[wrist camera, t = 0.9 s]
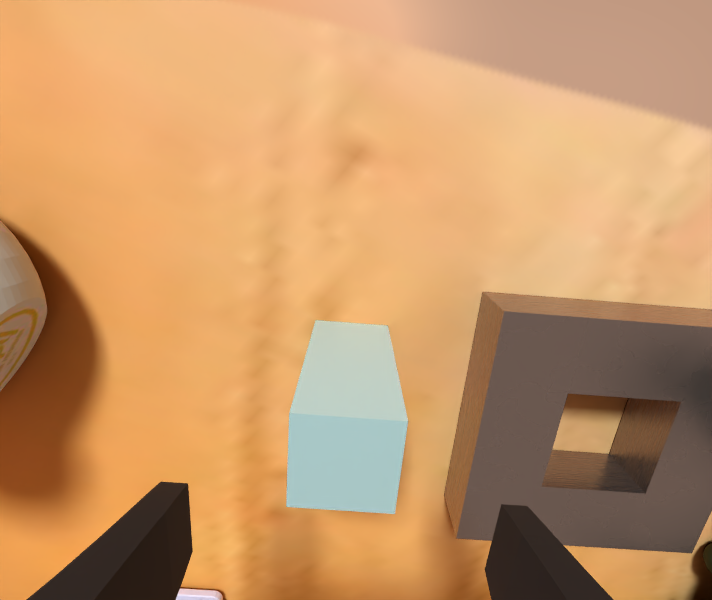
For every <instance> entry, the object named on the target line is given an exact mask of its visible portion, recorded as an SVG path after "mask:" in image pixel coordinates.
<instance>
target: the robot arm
mask: <svg viewBox="0 0 712 600" xmlns="http://www.w3.org/2000/svg"><path fill="white" fill-rule="evenodd" d="M191 554H192V537H191V521H190V506H189V491H188V484H187V483H172V482H160V483H159V484H158V485H157V486H155V487H154V488H153V489H152V490H151V491H150V492H149V493H148V494H146V495H145V496H144V497H143V498H142V499H141V500H140V501H139V502H138V503H137V504H136V505H134V506H133V507H132V508H131V509H130V510H129V511H128V512H127V513H126V514H125V515H124V516H122V517H121V518H120V519H119V520H118V521H117V522H116V523H115V524H114V525H113V526H111V527H110V528H109V529H108V530H107V531H106V532H105V533H104V534H103V535H102V536H100V537H99V538H98V539H97V540H96V541H95V542H94V543H92V544H91V545H90V546H89V547H88V548H87V549H86V550H84V551H83V552H82V553H81V554H80V555H79V556H78V557H76V558H75V559H74V560H73V561H72V562H71V563H70V564H69V565H67V566H66V567H65V568H64V569H63V570H62V571H60V572H59V573H58V574H57V575H56V576H55V577H53V578H52V579H51V580H50V581H49V582H47V583H46V584H45V585H44V586H43V587H41V588H40V589H39V590H38V591H37V592H35V593H34V594H33V595H32V596H30V597H29V598H28V599H27V600H223V596H222V594H221V593H220V592H218V591H215V590H200V589H183V588H180V586H181V584H182V581H183V578H184V575H185V572H186V569H187V566H188V563H189V560H190V557H191ZM485 572H486V577H487V581H488V586H489V590H490V595H491V599H492V600H613V599H612V598H611V597H610V596H609V595H608V593H607V592H606V591H605V590H604V589H603V588H602V587H601V586H600V585H599V584H598V583H597V582H596V581H595V580H594V578H593V577H592V576H591V575H590V574H589V573H588V572H587V571H586V570H585V569H584V568H583V567H582V565H581V564H580V563H579V562H578V561H577V560H576V559H575V558H574V557H573V556H572V554H571V553H570V552H569V551H568V550H567V549H566V548H565V547H564V546H563V545H562V543H561V542H560V541H559V540H558V539H557V538H556V537H555V536H554V535H553V533H552V532H551V531H550V530H549V529H548V528H547V527H546V526H545V525H544V523H543V522H542V521H541V520H540V519H539V518H538V517H537V516H536V515H535V514H534V513H533V511H532V510H531V509H530V508H529V507H528V506H521V505H506V504H501V507H500V511H499V515H498V519H497V523H496V527H495V531H494V535H493V539H492V543H491V547H490V551H489V555H488V559H487V563H486V567H485Z"/></svg>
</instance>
